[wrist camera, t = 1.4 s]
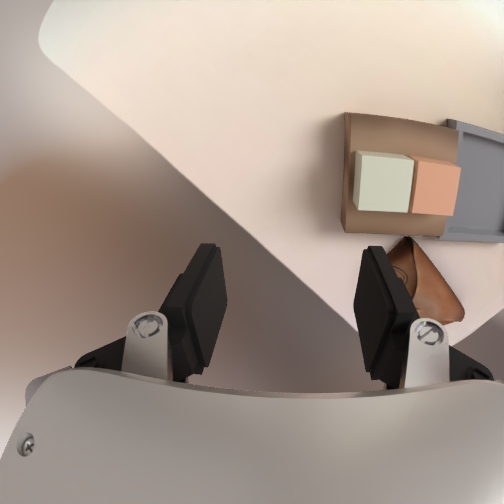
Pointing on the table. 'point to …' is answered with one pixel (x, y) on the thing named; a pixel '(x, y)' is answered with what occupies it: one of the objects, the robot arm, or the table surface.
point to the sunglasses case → (425, 283)
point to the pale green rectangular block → (382, 181)
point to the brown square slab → (395, 142)
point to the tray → (478, 186)
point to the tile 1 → (433, 186)
